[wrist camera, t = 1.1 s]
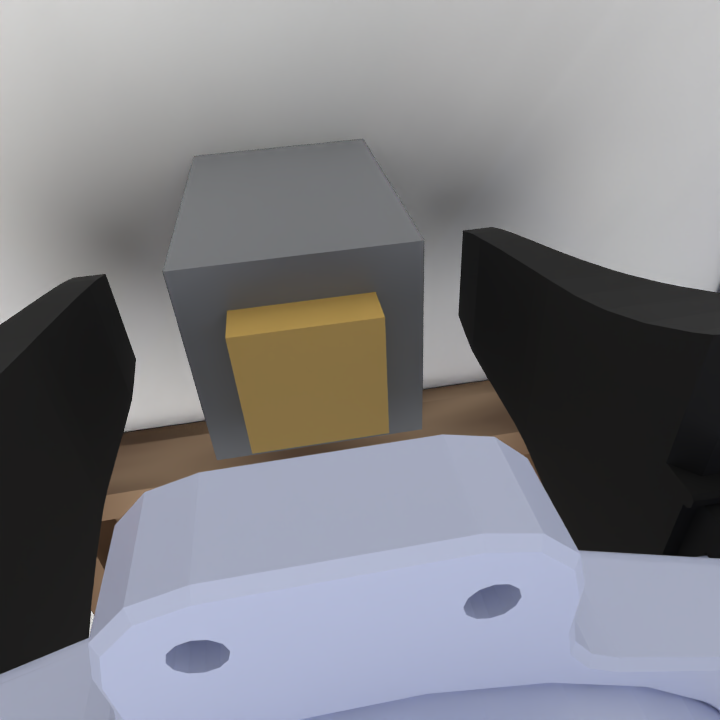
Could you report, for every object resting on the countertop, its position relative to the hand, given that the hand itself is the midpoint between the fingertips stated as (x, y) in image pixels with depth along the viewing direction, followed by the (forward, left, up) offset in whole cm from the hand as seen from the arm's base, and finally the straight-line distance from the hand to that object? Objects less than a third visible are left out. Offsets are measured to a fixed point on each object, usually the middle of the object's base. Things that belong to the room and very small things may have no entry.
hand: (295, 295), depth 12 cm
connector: (0, 0, -4) cm, 4 cm away
